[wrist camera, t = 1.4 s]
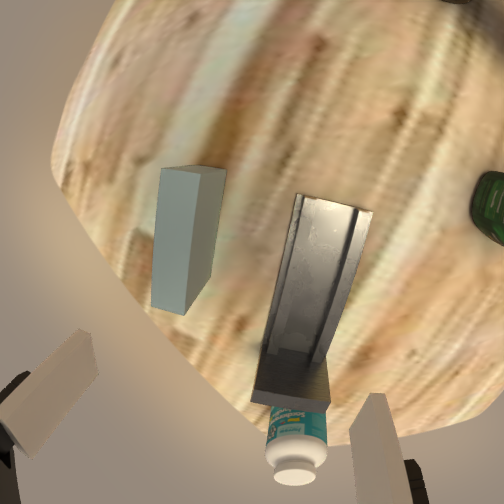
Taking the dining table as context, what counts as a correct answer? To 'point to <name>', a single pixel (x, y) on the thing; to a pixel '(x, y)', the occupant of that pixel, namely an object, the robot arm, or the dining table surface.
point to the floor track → (309, 303)
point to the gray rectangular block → (185, 234)
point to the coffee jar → (490, 206)
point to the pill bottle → (296, 445)
